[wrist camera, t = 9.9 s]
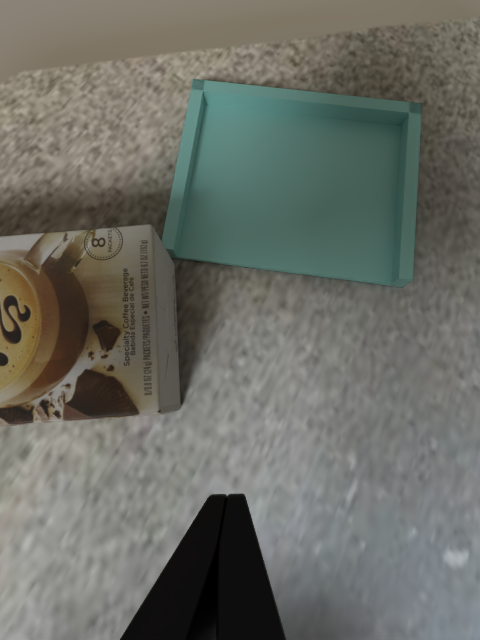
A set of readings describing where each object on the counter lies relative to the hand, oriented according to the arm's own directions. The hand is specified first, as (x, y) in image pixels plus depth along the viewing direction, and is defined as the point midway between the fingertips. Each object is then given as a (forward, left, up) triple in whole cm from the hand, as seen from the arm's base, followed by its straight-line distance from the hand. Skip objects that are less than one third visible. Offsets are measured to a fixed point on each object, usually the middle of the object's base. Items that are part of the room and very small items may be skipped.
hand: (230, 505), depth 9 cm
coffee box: (+6, +4, -10) cm, 12 cm away
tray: (+16, -3, -13) cm, 21 cm away
